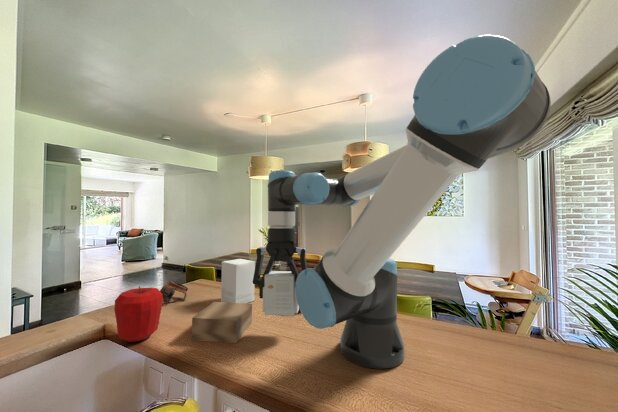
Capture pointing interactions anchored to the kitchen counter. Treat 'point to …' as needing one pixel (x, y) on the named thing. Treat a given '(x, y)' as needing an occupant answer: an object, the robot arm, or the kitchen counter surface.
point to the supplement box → (237, 281)
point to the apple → (138, 313)
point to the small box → (280, 293)
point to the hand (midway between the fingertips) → (281, 310)
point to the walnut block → (222, 322)
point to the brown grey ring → (172, 291)
